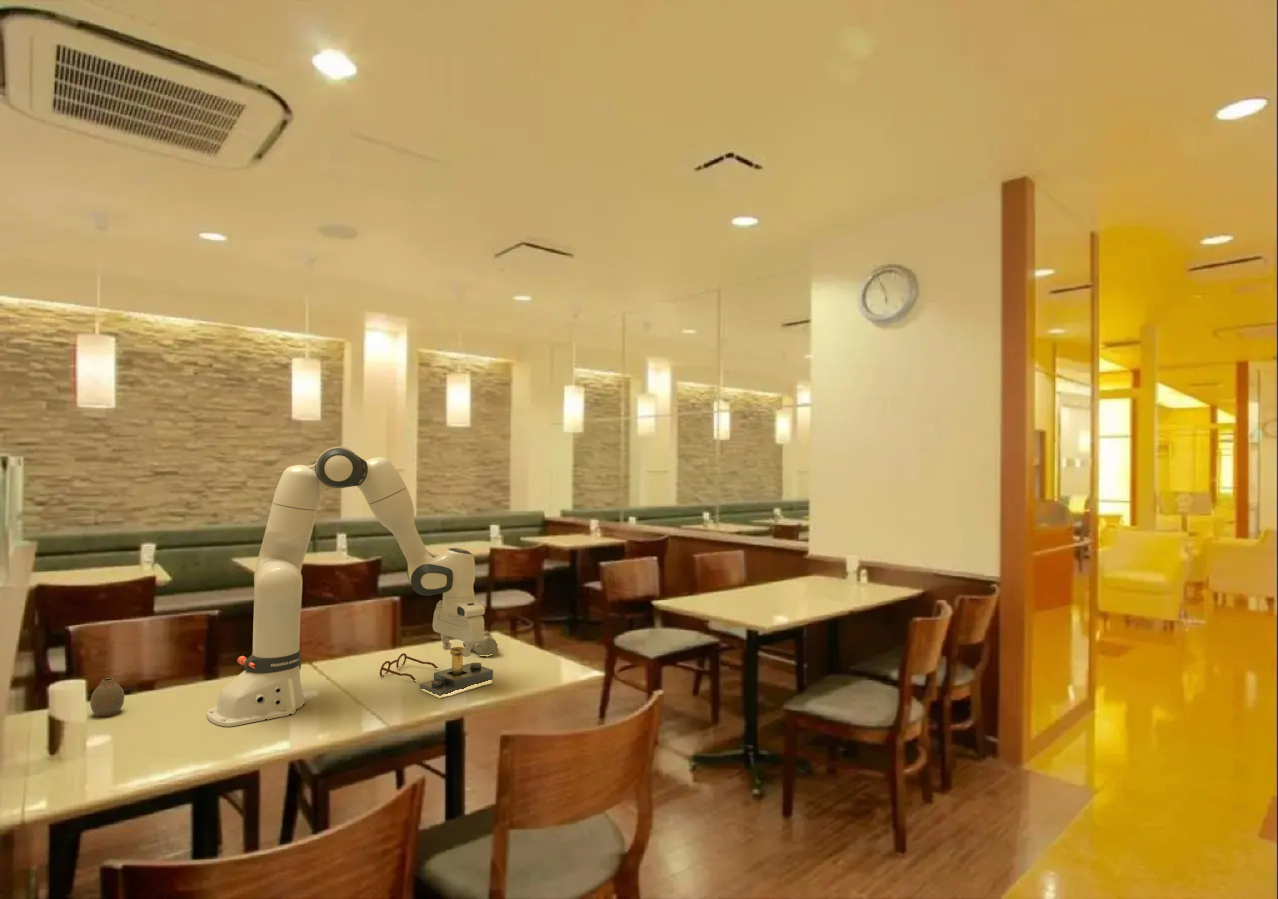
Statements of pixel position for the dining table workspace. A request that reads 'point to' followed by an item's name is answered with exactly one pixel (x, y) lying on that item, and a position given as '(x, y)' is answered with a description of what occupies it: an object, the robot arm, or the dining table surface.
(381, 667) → the glasses
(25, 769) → the dining table surface
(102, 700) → the vase
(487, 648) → the ceramic sculpture
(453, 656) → the pin
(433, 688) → the metal plate with knobs
